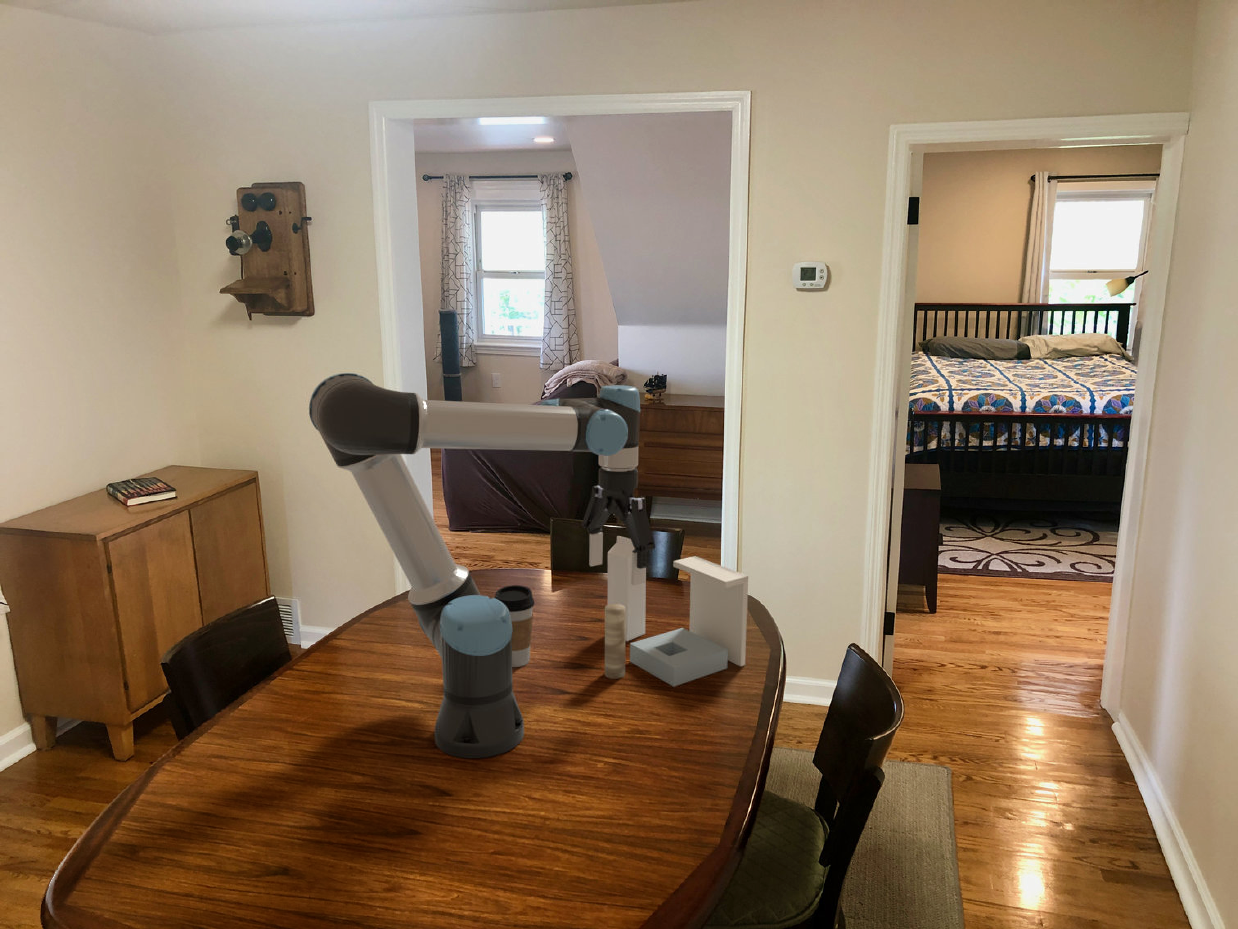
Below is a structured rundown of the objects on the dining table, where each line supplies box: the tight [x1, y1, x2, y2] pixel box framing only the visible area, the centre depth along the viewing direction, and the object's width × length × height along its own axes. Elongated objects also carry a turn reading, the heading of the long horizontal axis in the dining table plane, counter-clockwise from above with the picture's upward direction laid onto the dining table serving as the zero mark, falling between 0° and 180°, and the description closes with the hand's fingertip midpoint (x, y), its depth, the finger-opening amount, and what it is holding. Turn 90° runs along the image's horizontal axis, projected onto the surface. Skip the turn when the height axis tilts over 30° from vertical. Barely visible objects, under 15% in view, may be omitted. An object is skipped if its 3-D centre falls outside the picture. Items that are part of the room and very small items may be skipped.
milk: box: [607, 535, 647, 642], centre depth 194 cm, size 6×6×22 cm
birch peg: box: [604, 604, 626, 680], centre depth 175 cm, size 4×4×14 cm
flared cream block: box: [673, 555, 749, 667], centre depth 184 cm, size 6×16×19 cm, turn 36°
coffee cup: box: [494, 584, 535, 668], centre depth 181 cm, size 8×8×15 cm
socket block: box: [629, 627, 729, 687], centre depth 181 cm, size 14×14×4 cm
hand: (616, 574), depth 174 cm, fingers open, 13 cm apart
